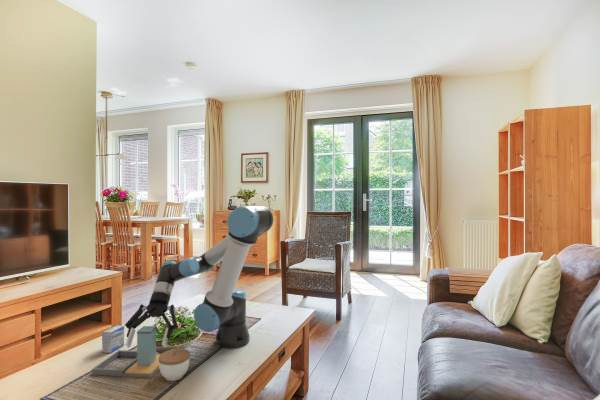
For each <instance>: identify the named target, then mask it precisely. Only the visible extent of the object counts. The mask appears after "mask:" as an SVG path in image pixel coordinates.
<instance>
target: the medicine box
mask: <svg viewBox="0 0 600 400" xmlns="http://www.w3.org/2000/svg"><path fill="white" fill-rule="evenodd" d="M101 336H102V337H101V343H102V344H101V352H102V353H106V354H113V353H115V352H117V351H118V350H120V348H123V347H124V346H125V325H118V324H117V325H114V326H112V327H110V328H108V329H106V330H104V331H102V332H101Z"/></svg>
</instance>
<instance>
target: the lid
mask: <svg viewBox="0 0 600 400" xmlns="http://www.w3.org/2000/svg"><path fill="white" fill-rule="evenodd" d="M160 355H161V353H159V354H157V353H156V360H155V361H154V363H153V364H152V365H151V366H137V362H136V363H135V364H134V365H132V366H131V367H130V368H129V369H128V370H126V371H125V373H123V374H122V376H121V377H129V378H130V377H131V378H145V379H146V378H147V379H148V378H151V379H152V377H154V375H156V373H158V372H159V371H160V369H159V356H160Z"/></svg>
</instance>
